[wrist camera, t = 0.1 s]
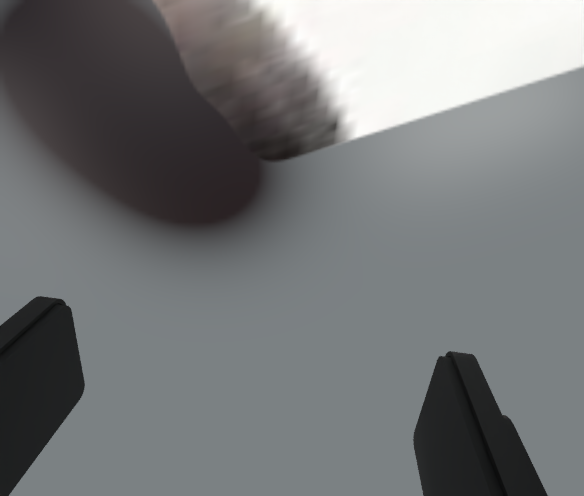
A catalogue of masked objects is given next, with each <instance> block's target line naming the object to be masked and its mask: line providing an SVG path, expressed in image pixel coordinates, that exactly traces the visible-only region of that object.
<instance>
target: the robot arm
mask: <svg viewBox="0 0 584 496" xmlns="http://www.w3.org/2000/svg"><path fill="white" fill-rule="evenodd" d="M84 386H85V384H84V378H83V373H82V367H81V361H80V355H79V350H78V345H77V339H76V333H75V328H74V322H73V317H72V312H71V308H70V307H69V306H66V303H65V302H64V301H63V300H62V299H56V298H48V297H41V296H40V297H36V298H34V299H33V300H31V301H30V302H29V303H28V304H27V305H25V306H24V307H23V308H22V309H20V310H19V311H18V312H17V313H15V314H14V315H13V316H12V317H11V318H9V319H8V320H7V321H6V322H4V323H3V324H2V325H1V326H0V496H9V494H10V493H11V492H12V490H13V489H14V487H15V486H16V485H17V483H18V482H19V481H20V479H21V478H22V477H23V475H24V474H25V473H26V471H27V470H28V469H29V467H30V466H31V465H32V463H33V462H34V460H35V459H36V458H37V456H38V455H39V454H40V452H41V451H42V450H43V448H44V447H45V445H46V444H47V443H48V442H49V440H50V439H51V438H52V436H53V435H54V433H55V432H56V431H57V429H58V428H59V427H60V425H61V424H62V423H63V421H64V420H65V419H66V417H67V416H68V415H69V413H70V412H71V410H72V409H73V408H74V406H75V405H76V404H77V402H78V401H79V400H80V398H81V396H82V394H83V391H84ZM414 450H415V455H416V459H417V465H418V470H419V474H420V480H421V485H422V490H423V495H424V496H547V493H546V491H545V489H544V487H543V485H542V483H541V481H540V479H539V477H538V475H537V473H536V470H535V468H534V466H533V464H532V462H531V460H530V458H529V456H528V454H527V452H526V449H525V448H524V446H523V443H522V441H521V439H520V437H519V435H518V433H517V431H516V429H515V427H514V425H513V423H512V422H511V420H510V419H509V418H508V417H507V416H505V415H502V414H501V412H500V410H499V407H498V405H497V403H496V401H495V399H494V396H493V394H492V392H491V390H490V388H489V386H488V383H487V381H486V379H485V377H484V375H483V372H482V370H481V368H480V366H479V364H478V362H477V359H476V358H475V356H474V355H472V354H466V353H458V352H451V351H450V352H448V353H447V354H446V356H445V357H442V356H440V357H439V358H438V360H437V363H436V366H435V369H434V372H433V375H432V378H431V381H430V385H429V388H428V391H427V394H426V397H425V401H424V403H423V406H422V410H421V413H420V416H419V419H418V422H417V425H416V428H415V432H414Z"/></svg>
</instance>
